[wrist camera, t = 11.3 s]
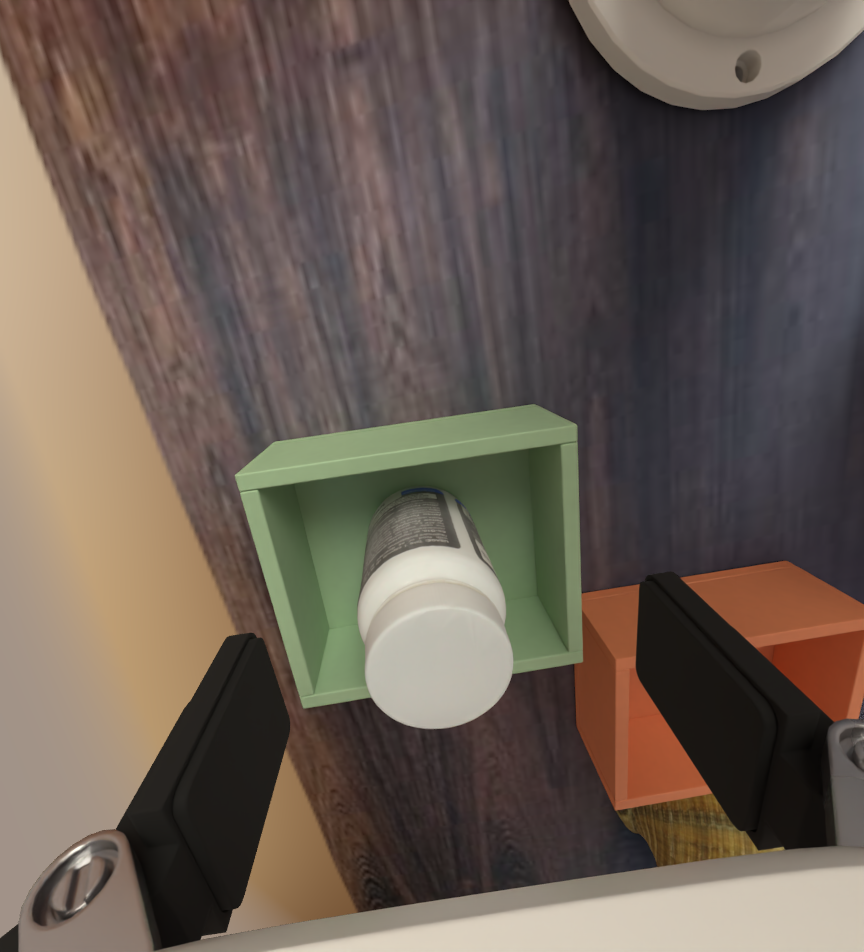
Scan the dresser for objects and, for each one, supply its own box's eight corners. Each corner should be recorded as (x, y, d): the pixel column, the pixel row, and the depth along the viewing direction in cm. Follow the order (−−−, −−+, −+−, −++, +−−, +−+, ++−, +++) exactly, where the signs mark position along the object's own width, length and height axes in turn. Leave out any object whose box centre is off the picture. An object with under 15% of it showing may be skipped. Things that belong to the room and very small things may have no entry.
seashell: (593, 730, 30) (590, 881, 25) (647, 722, 24) (655, 917, 20) (731, 769, 30) (753, 931, 25) (820, 772, 24) (869, 983, 19)
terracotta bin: (571, 594, 21) (615, 659, 17) (786, 559, 22) (884, 615, 17) (575, 726, 24) (615, 811, 20) (767, 693, 25) (846, 770, 20)
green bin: (273, 441, 18) (233, 475, 14) (535, 403, 18) (577, 424, 14) (322, 632, 21) (302, 709, 17) (545, 596, 21) (584, 663, 17)
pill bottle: (351, 558, 19) (319, 714, 11) (394, 466, 18) (392, 568, 10) (446, 593, 20) (478, 760, 12) (492, 508, 19) (561, 631, 11)
